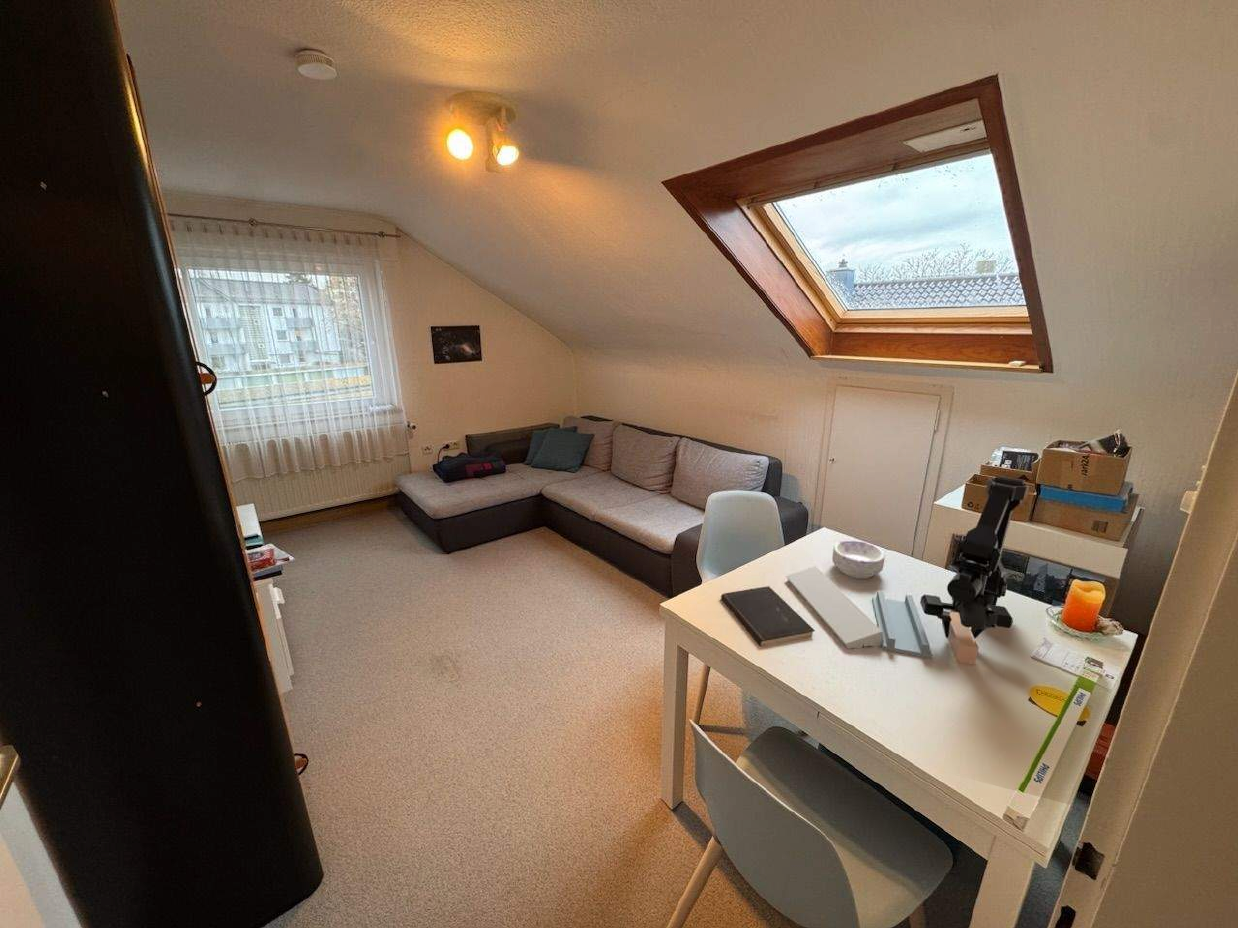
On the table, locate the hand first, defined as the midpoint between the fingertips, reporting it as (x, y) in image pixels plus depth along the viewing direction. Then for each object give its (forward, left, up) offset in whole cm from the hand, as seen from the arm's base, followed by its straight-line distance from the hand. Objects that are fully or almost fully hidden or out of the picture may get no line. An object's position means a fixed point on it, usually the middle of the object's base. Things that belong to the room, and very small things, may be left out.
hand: (958, 638), depth 129 cm
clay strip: (0, 0, -2) cm, 2 cm away
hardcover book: (+48, +4, -2) cm, 48 cm away
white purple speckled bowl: (+22, -32, -2) cm, 38 cm away
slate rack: (+13, -3, -1) cm, 13 cm away
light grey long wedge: (+31, -5, -2) cm, 31 cm away
